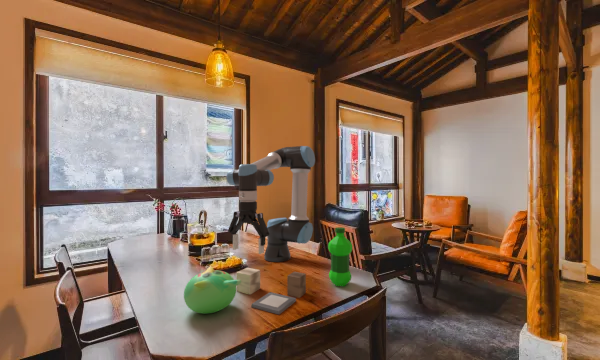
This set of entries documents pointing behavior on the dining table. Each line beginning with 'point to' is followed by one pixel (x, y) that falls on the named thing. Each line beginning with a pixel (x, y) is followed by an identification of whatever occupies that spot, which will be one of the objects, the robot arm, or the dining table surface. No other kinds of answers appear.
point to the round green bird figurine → (210, 291)
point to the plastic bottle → (340, 258)
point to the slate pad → (274, 303)
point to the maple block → (248, 280)
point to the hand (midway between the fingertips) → (248, 251)
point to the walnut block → (296, 284)
